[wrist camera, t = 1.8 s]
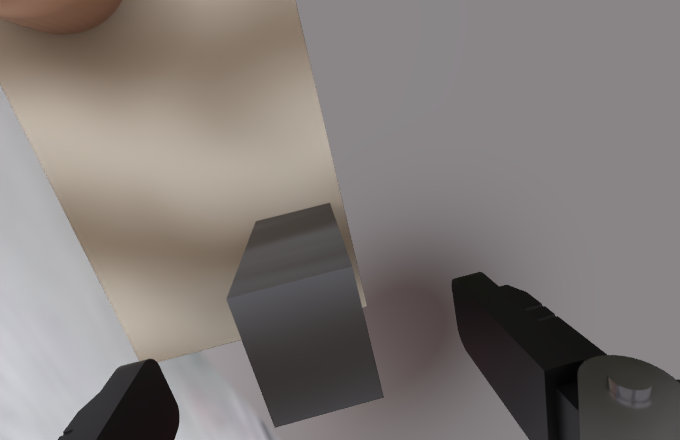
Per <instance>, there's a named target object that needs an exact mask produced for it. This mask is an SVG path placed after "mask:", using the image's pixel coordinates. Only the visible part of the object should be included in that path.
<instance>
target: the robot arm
mask: <svg viewBox="0 0 680 440" xmlns="http://www.w3.org/2000/svg"><path fill="white" fill-rule="evenodd" d="M452 292H453V299H454V306H455V313H456V320H457V326H458V331H459V335H460V338H461V341H462V343H463V345H464V347H465V349H466V351H467V352H468V354H469V355H470V357H471V358H472V360H473V361H474V362H475V364H476V365H477V367H478V368H479V369H480V371H481V372H482V374H483V375H484V377H485V378H486V379H487V381H488V382H489V384H490V385H491V386H492V388H493V389H494V390H495V392H496V393H497V395H498V396H499V397H500V399H501V400H502V402H503V403H504V405H505V406H506V407H507V409H508V410H509V412H510V413H511V414H512V416H513V417H514V419H515V420H516V421H517V423H518V424H519V426H520V427H521V429H522V430H523V431H524V433H525V434H526V436H527V437H528V438H529V440H680V380H676V379H675V378H673V377H672V376H671V375H670V374H668V373H667V372H665V371H664V370H662V369H660V368H658V367H656V366H654V365H652V364H650V363H647V362H645V361H642V360H638V359H635V358H631V357H626V356H618V355H607V354H605V353H604V352H603V351H602V350H600V349H599V348H598V347H596V346H595V345H594V344H593V343H591V342H590V341H589V340H588V339H586V338H585V337H584V336H582V335H581V334H580V333H579V332H577V331H576V330H575V329H573V328H572V327H571V326H570V325H568V324H567V323H565V322H564V321H563V320H562V319H560V318H559V317H558V316H557V317H556V316H555V314H554V313H553V312H551V311H550V310H549V309H548V308H546V307H545V306H544V307H543V306H542V304H541V303H540V302H539V301H537V300H536V299H535V298H533V297H532V296H531V295H530V294H528V293H527V292H525V291H522V290H519V289H517V288H514V287H511V286H509V285H504V286H500V287H499V286H498V285H496V284H495V283H494V282H493V281H492V280H491V279H489V278H488V277H487V276H486V275H485V274H483V273H482V272H478V273H474V274H470V275H466V276H463V277H459V278H455V279H453V280H452ZM178 427H179V409H178V405H177V402H176V400H175V398H174V396H173V394H172V392H171V390H170V388H169V385H168V383H167V381H166V379H165V377H164V375H163V373H162V371H161V368H160V366H159V365H158V363H157V362H156V361H155V360H154V359H146V360H143V361H139V362H135V363H131V364H127V365H124V366H121V367H119V368H117V369H116V371H115V372H114V373H113V375H112V376H111V378H110V379H109V380H108V382H107V383H106V385H105V386H104V387H103V389H102V390H101V392H100V393H98V394H97V395H96V396H95V397H94V398H93V399H92V400H91V401H90V402H89V403H88V404H86V405H85V406H84V407H83V408H82V409H81V410H80V411H79V412H78V413H77V414H76V416H75V417H74V418H73V420H72V421H71V423H70V424H69V425H68V427H67V428H66V429H65V431H64V432H63V433H64V434H63V436H60V437H59V439H58V440H174V438H175V436H176V433H177V430H178Z"/></svg>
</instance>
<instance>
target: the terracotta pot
mask: <svg viewBox="0 0 680 440" xmlns="http://www.w3.org/2000/svg"><path fill="white" fill-rule="evenodd" d="M121 1H122V0H0V19H1V20H4V21H7V22H10V23H14V24H17V25H20V26H23V27H27V28H30V29H33V30H36V31H40V32H44V33H50V34H58V35H60V34H75V33H81V32H84V31H87V30H90V29H92V28H94V27H96V26H98V25H100V24H101V23H103V22H104V21H105V20H107V19H108V18H109V17H110V16H111V15H112V14H113V13H114V12H115V10H116V9H117V8H118V6H119V5H120V3H121Z"/></svg>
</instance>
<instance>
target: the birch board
mask: <svg viewBox="0 0 680 440" xmlns="http://www.w3.org/2000/svg"><path fill="white" fill-rule="evenodd" d="M0 85H1V87H2V89H3V91H4V93H5V95H6V96H7V98H8V100H9V102H10V104H11V106H12V108H13V110H14V112H15V114H16V116H17V118H18V120H19V122H20V124H21V126H22V128H23V130H24V132H25V134H26V136H27V138H28V140H29V142H30V144H31V146H32V148H33V150H34V152H35V154H36V156H37V158H38V160H39V162H40V164H41V166H42V168H43V170H44V172H45V174H46V176H47V178H48V180H49V182H50V184H51V186H52V188H53V190H54V192H55V194H56V196H57V198H58V200H59V202H60V204H61V206H62V208H63V210H64V212H65V214H66V216H67V218H68V220H69V222H70V224H71V226H72V228H73V230H74V232H75V234H76V236H77V238H78V240H79V242H80V244H81V246H82V248H83V250H84V252H85V254H86V256H87V258H88V260H89V262H90V264H91V266H92V268H93V270H94V272H95V274H96V276H97V278H98V280H99V282H100V284H101V286H102V288H103V290H104V292H105V294H106V296H107V298H108V300H109V302H110V304H111V305H112V307H113V309H114V311H115V313H116V315H117V317H118V319H119V321H120V323H121V325H122V327H123V329H124V331H125V333H126V335H127V337H128V339H129V341H130V343H131V345H132V347H133V349H134V351H135V353H136V355H137V357H138V359H139V361H143V360H146V359H154V360H155V361H156V362H160V361H164V360H168V359H171V358H175V357H179V356H183V355H186V354H190V353H194V352H198V351H201V350H205V349H209V348H213V347H216V346H220V345H224V344H228V343H232V342H235V341H239V340H242V342H243V345H244V347H245V350H246V352H247V355H248V358H249V361H250V363H251V366H252V368H253V371H254V373H255V376H256V379H257V381H258V384H259V387H260V389H261V392H262V395H263V397H264V400H265V403H266V405H267V408H268V411H269V413H270V416H271V419H272V421H273V424H274V426H275V427H278V426H282V425H286V424H290V423H293V422H297V421H300V420H304V419H307V418H311V417H314V416H318V415H322V414H326V413H329V412H333V411H336V410H340V409H344V408H347V407H351V406H354V405H358V404H361V403H365V402H369V401H372V400H376V399H380V398H383V397H384V396H383V392H382V388H381V384H380V380H379V376H378V371H377V367H376V363H375V359H374V355H373V351H372V346H371V342H370V338H369V334H368V330H367V325H366V321H365V317H364V313H363V309H362V308H363V307H366V306H367V304H366V300H365V295H364V291H363V287H362V283H361V279H360V274H359V270H358V266H357V261H356V257H355V253H354V248H353V244H352V240H351V236H350V232H349V227H348V223H347V218H346V214H345V211H344V206H343V201H342V197H341V193H340V189H339V184H338V180H337V176H336V171H335V167H334V163H333V159H332V155H331V150H330V146H329V142H328V137H327V133H326V129H325V124H324V120H323V116H322V112H321V107H320V103H319V99H318V95H317V90H316V86H315V82H314V77H313V73H312V69H311V65H310V60H309V56H308V52H307V48H306V43H305V39H304V35H303V30H302V26H301V22H300V17H299V13H298V9H297V5H296V1H295V0H122V1H121V3H120V5H119V6H118V8H117V9H116V10H115V12H114V13H113V14H112V15H111V16H110V17H109V18H108V19H107V20H105V21H104V22H103V23H101V24H100V25H98V26H96V27H94V28H92V29H90V30H87V31H84V32H81V33H75V34H60V35H58V34H50V33H44V32H40V31H36V30H33V29H30V28H27V27H23V26H20V25H17V24H14V23H10V22H7V21H4V20H1V19H0Z"/></svg>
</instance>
